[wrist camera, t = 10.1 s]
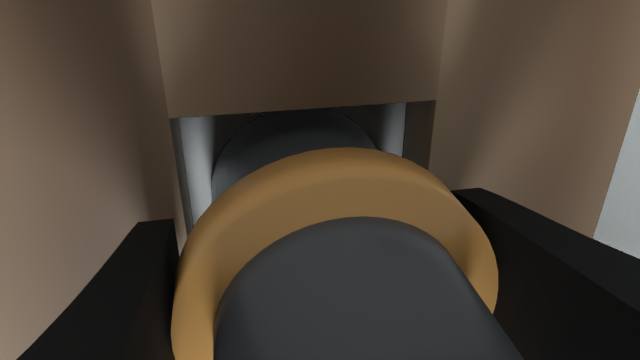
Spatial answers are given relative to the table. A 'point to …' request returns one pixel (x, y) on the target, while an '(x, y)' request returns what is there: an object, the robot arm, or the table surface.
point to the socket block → (287, 94)
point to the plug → (332, 255)
